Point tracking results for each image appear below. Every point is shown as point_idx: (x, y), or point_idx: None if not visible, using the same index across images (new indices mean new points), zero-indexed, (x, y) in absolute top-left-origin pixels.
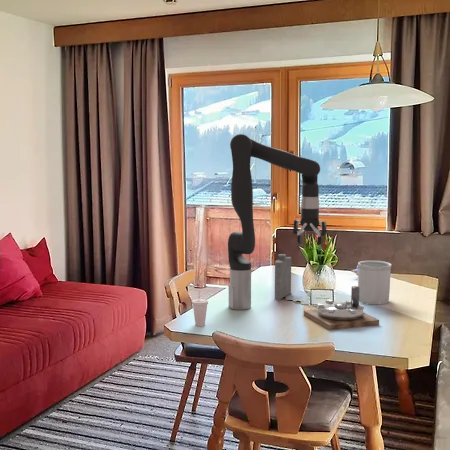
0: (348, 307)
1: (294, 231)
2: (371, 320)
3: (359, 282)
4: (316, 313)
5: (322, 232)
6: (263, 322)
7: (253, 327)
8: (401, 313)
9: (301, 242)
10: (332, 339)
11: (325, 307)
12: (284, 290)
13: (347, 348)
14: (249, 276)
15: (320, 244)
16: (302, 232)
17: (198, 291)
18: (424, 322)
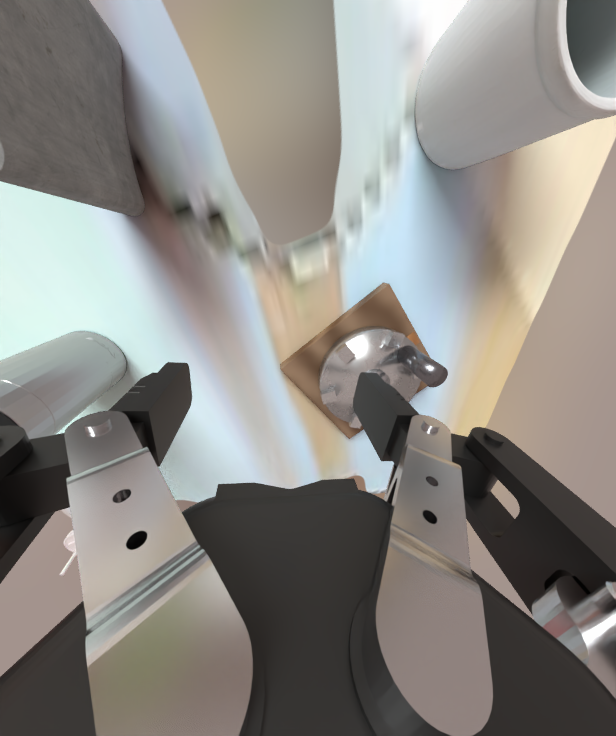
0: (390, 375)
1: (10, 531)
2: (425, 385)
3: (465, 96)
4: (314, 381)
5: (466, 510)
6: (219, 439)
7: (216, 468)
8: (504, 260)
9: (184, 372)
10: (355, 465)
11: (339, 395)
12: (113, 127)
13: (376, 485)
14: (54, 421)
15: (374, 373)
16: (140, 448)
17: (64, 571)
18: (525, 321)
